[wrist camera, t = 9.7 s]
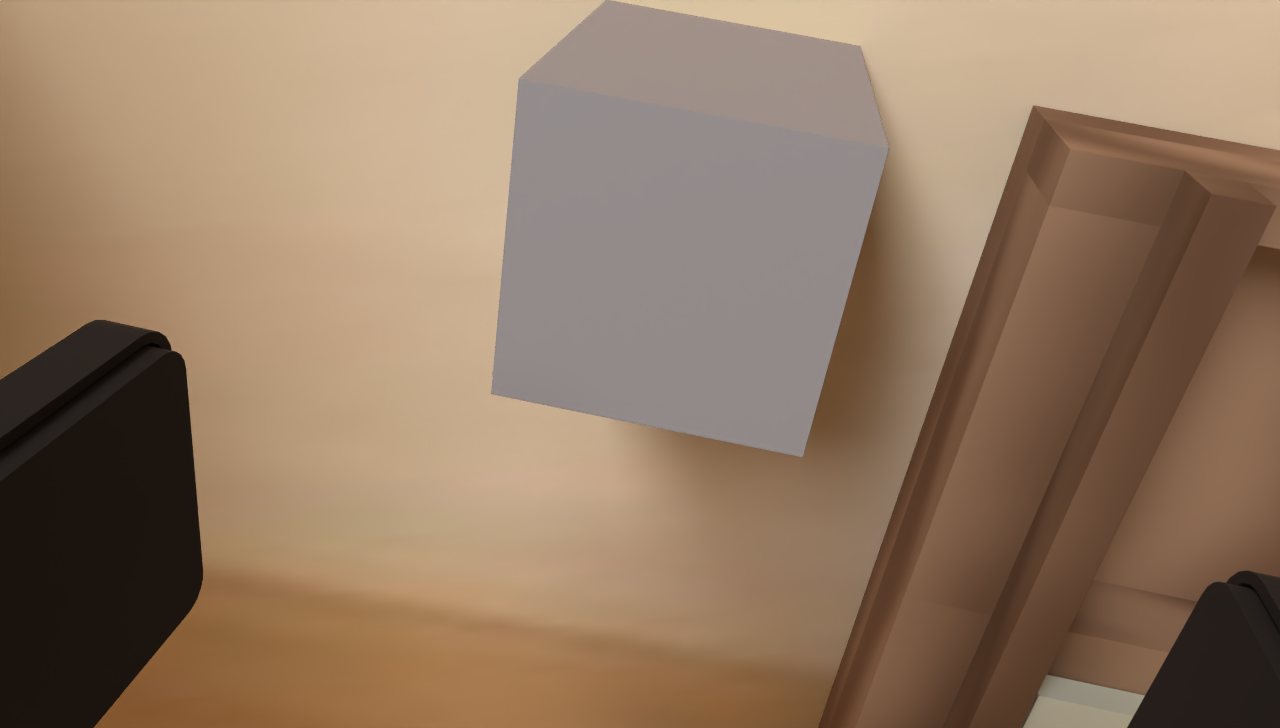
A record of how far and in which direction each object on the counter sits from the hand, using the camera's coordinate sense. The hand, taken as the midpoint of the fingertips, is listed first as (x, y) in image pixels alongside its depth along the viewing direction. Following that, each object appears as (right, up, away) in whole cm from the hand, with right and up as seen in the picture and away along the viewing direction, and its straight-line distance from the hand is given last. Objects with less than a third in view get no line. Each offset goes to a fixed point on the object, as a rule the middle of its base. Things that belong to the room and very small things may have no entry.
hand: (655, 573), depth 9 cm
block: (+1, +6, +11) cm, 13 cm away
